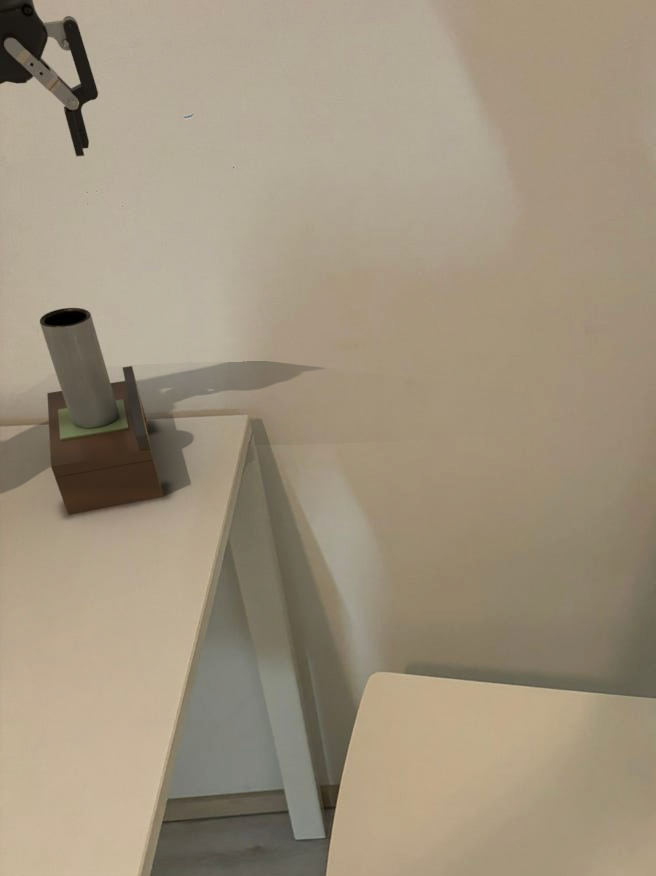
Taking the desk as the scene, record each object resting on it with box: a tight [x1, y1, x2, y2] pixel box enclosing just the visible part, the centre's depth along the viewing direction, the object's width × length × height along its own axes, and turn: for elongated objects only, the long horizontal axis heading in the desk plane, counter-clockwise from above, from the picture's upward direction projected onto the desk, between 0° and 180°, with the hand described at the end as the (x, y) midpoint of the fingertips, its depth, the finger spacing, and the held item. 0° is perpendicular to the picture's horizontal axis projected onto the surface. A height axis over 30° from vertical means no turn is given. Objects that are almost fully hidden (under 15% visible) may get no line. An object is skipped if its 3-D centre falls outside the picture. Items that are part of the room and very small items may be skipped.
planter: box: [39, 307, 119, 428], centre depth 90 cm, size 4×4×10 cm
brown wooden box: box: [46, 365, 164, 516], centre depth 95 cm, size 16×9×8 cm, turn 20°
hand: (30, 159), depth 85 cm, fingers open, 8 cm apart
